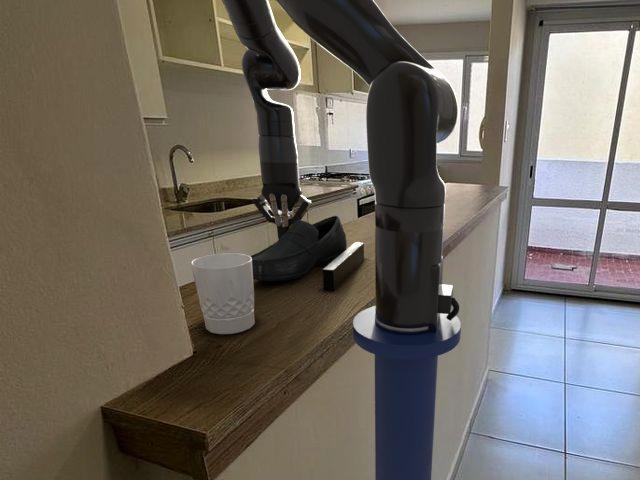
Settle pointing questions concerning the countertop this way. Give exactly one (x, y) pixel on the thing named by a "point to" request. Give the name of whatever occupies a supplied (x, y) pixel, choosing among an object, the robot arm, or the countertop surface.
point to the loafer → (300, 250)
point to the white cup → (225, 291)
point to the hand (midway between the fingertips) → (285, 242)
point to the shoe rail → (342, 266)
